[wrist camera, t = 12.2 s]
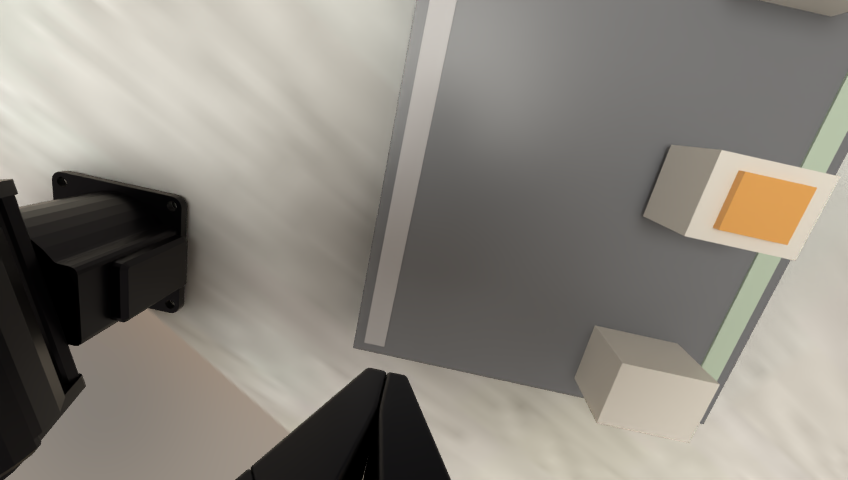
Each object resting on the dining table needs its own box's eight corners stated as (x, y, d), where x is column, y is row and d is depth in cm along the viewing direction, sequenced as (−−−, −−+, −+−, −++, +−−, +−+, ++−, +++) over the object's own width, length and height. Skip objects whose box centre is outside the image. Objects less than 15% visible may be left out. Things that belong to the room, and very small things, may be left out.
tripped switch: (642, 216, 16) (689, 238, 13) (671, 144, 16) (727, 150, 12) (734, 236, 16) (803, 263, 13) (768, 166, 16) (849, 177, 12)
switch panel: (361, 327, 21) (337, 386, 17) (454, -173, 15) (458, -313, 10) (680, 397, 22) (747, 476, 17) (911, -68, 15) (1127, -155, 10)
